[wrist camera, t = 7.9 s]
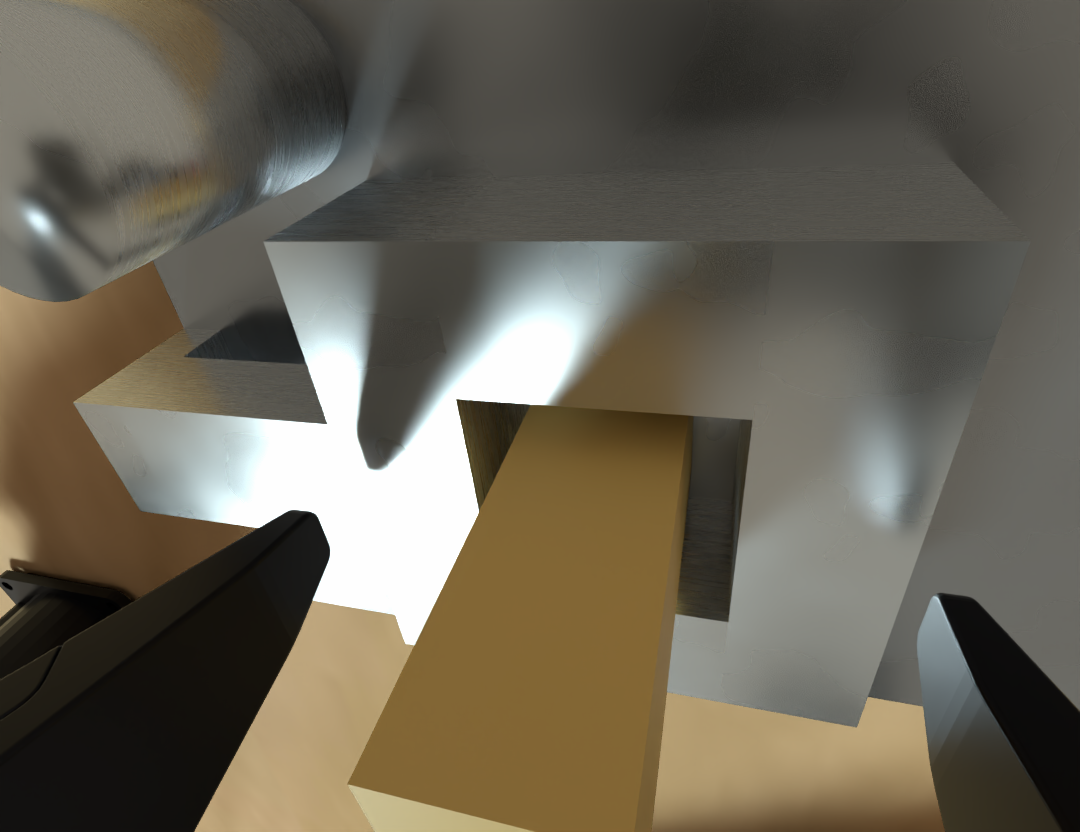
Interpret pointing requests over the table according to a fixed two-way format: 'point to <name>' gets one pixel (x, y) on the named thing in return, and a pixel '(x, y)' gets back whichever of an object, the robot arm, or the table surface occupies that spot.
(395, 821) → the pale yellow rectangular prism
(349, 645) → the table surface
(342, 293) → the gray tray
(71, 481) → the table surface
